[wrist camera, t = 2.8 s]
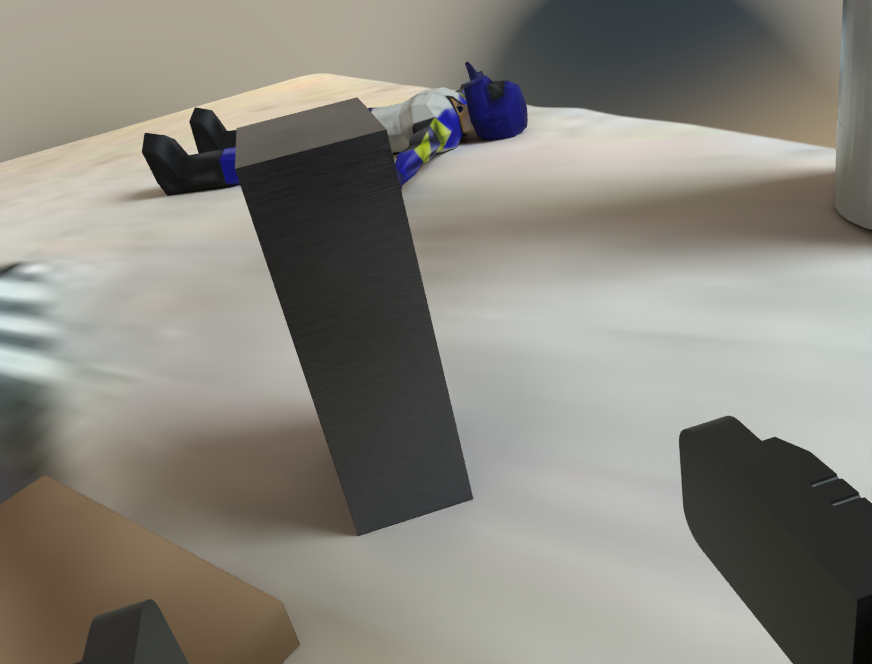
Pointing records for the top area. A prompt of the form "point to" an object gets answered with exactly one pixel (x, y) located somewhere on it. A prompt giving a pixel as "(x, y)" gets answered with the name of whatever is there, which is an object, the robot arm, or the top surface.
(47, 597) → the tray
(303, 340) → the dark grey tall block
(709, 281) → the top surface
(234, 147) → the toy
